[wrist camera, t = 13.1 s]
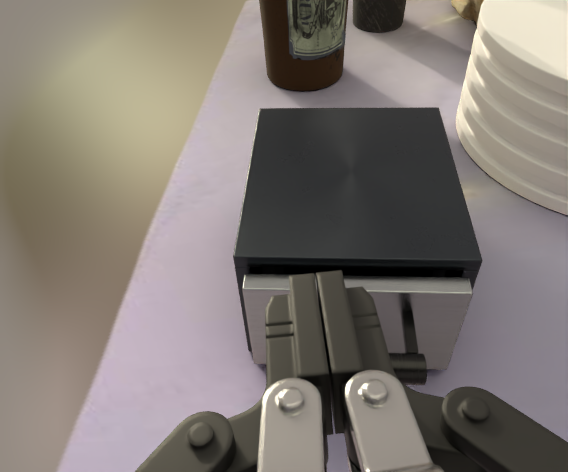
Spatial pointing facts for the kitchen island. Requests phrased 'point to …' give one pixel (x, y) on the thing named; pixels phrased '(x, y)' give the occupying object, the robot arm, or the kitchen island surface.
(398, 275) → the drawer
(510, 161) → the plate stack
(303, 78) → the olive oil
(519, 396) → the kitchen island surface
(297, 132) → the cabinet
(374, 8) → the travel mug
